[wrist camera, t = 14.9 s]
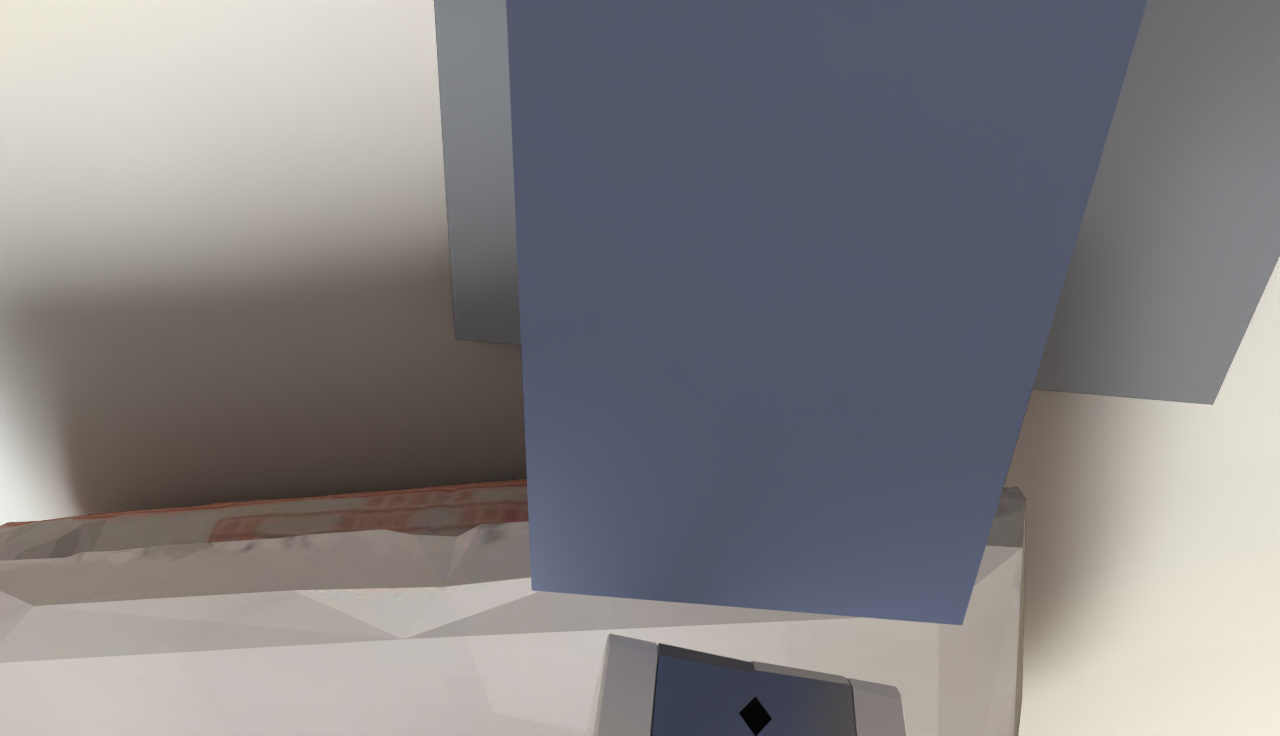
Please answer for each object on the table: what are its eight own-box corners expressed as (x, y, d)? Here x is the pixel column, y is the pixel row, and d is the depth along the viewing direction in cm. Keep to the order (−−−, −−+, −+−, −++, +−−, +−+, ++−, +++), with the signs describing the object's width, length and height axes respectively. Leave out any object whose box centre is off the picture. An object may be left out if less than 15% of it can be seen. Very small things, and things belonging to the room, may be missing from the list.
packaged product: (962, 743, 21) (971, 323, 16) (1016, 998, 17) (1052, 552, 12) (135, 774, 24) (-102, 421, 18) (17, 1001, 20) (-332, 637, 14)
